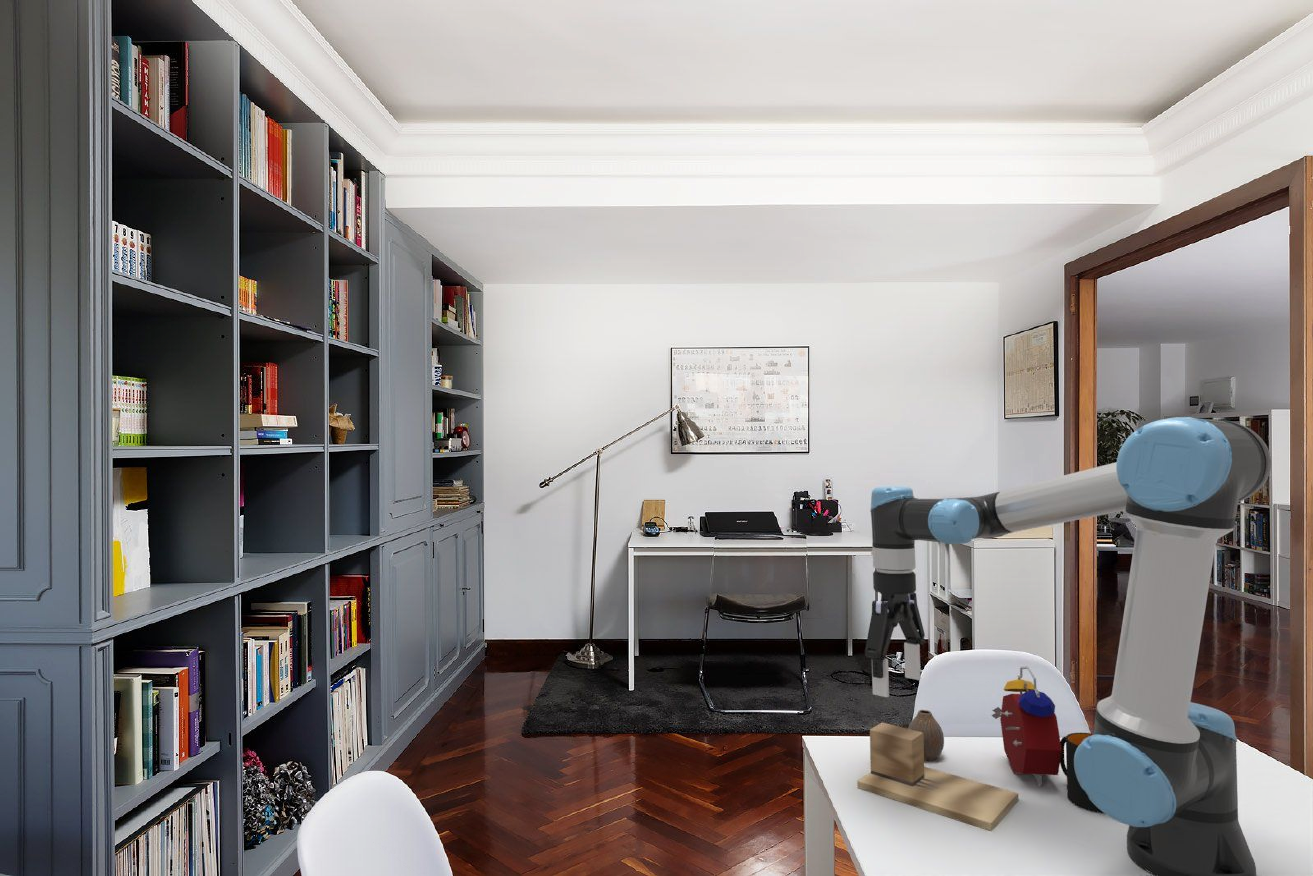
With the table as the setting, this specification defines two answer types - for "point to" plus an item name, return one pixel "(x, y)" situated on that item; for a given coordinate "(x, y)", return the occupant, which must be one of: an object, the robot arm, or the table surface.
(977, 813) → the board
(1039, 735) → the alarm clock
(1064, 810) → the table surface
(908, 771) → the wooden block
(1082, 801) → the mug
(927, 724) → the vase
